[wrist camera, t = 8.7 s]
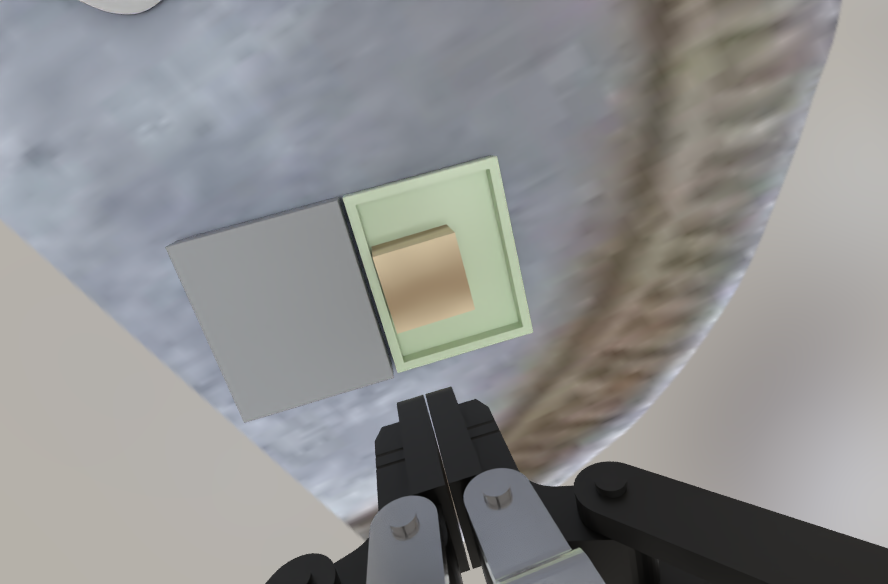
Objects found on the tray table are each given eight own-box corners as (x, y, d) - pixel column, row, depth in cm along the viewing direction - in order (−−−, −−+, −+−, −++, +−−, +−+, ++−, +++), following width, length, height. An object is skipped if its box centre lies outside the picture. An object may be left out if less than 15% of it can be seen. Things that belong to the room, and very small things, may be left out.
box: (343, 195, 31) (342, 198, 29) (490, 155, 31) (496, 156, 30) (396, 363, 35) (397, 373, 33) (526, 324, 35) (533, 332, 34)
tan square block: (371, 246, 31) (372, 257, 28) (446, 224, 32) (454, 232, 29) (394, 317, 33) (397, 333, 30) (465, 294, 33) (475, 309, 30)
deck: (177, 240, 30) (165, 247, 28) (338, 196, 31) (337, 200, 29) (250, 406, 34) (244, 422, 32) (391, 364, 34) (393, 377, 33)
